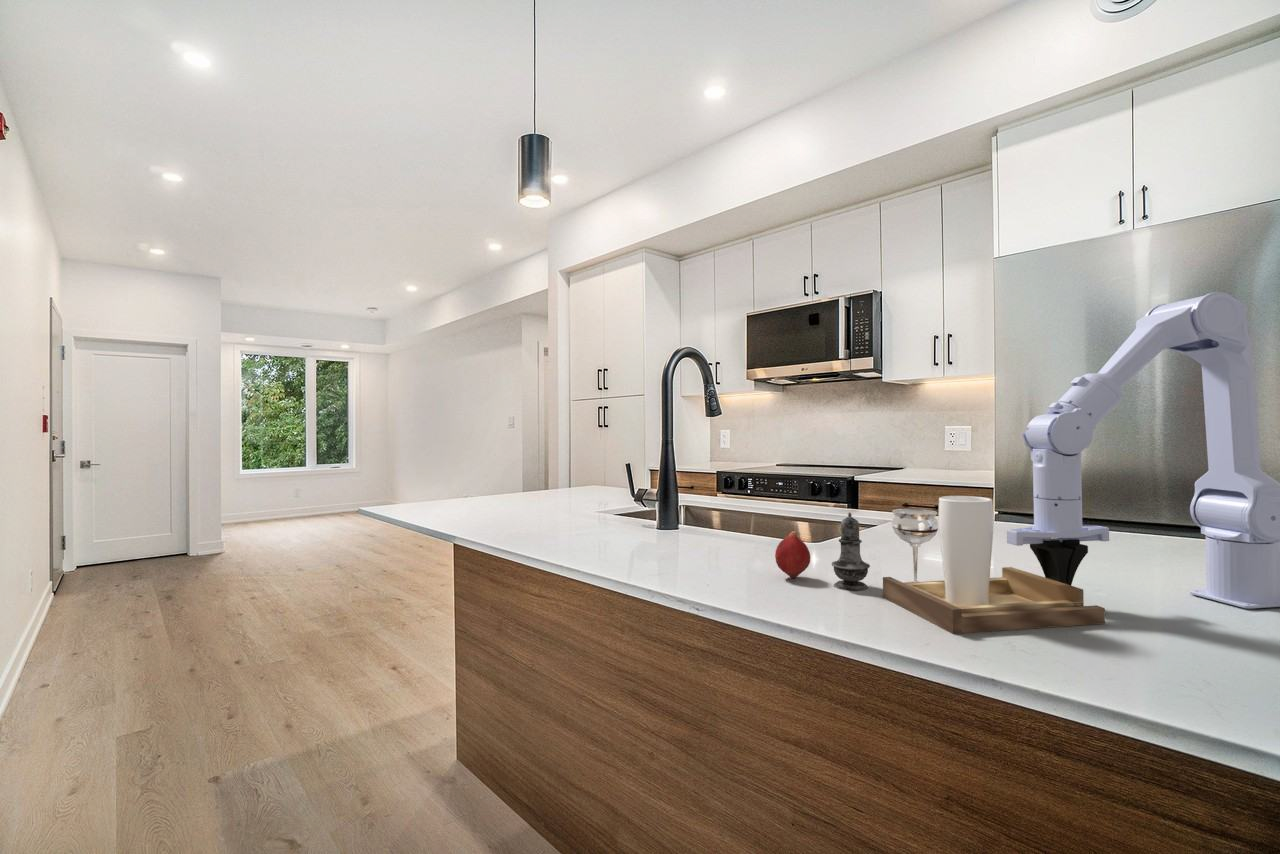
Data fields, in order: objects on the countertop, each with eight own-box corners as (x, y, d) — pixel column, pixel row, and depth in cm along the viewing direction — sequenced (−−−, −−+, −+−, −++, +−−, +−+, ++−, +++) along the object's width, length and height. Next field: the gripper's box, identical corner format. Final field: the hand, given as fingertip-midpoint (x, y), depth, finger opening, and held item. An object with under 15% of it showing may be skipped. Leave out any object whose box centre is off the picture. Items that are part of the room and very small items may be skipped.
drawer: (1011, 593, 94) (1011, 567, 94) (1083, 619, 81) (1083, 589, 81) (901, 599, 92) (900, 572, 92) (957, 628, 79) (956, 596, 79)
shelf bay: (1011, 589, 96) (1010, 570, 96) (1104, 623, 80) (1104, 600, 80) (883, 597, 93) (882, 577, 93) (952, 633, 77) (952, 609, 77)
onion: (776, 581, 103) (775, 534, 103) (774, 573, 109) (773, 528, 109) (812, 582, 102) (811, 534, 102) (808, 574, 108) (808, 528, 108)
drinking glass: (1002, 614, 82) (1001, 501, 82) (948, 612, 83) (946, 501, 83) (984, 600, 89) (983, 495, 89) (934, 598, 90) (932, 495, 90)
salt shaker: (871, 583, 101) (870, 510, 101) (868, 592, 96) (867, 515, 96) (834, 580, 103) (833, 509, 103) (829, 589, 98) (828, 513, 98)
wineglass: (898, 579, 104) (897, 507, 104) (942, 584, 100) (941, 510, 100) (888, 588, 98) (886, 512, 98) (934, 594, 94) (933, 515, 94)
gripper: (1079, 493, 93) (1080, 583, 93) (991, 496, 91) (992, 588, 91) (1121, 498, 86) (1123, 596, 86) (1027, 502, 84) (1029, 602, 84)
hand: (1058, 593), depth 88 cm, fingers closed
